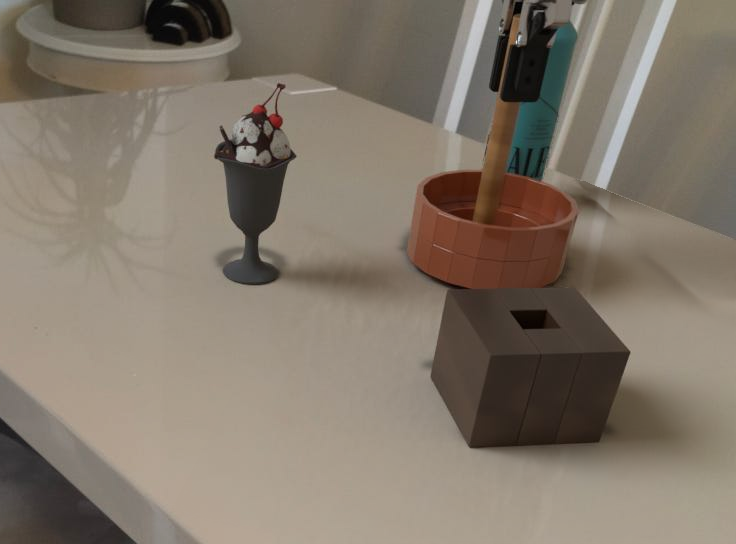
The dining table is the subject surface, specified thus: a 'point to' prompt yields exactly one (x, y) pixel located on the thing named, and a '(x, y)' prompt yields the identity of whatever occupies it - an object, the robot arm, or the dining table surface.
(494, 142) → the stick
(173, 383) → the dining table surface
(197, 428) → the dining table surface
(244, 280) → the sundae
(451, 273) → the bowl
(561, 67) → the beverage bottle
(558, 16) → the robot arm
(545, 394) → the holder
